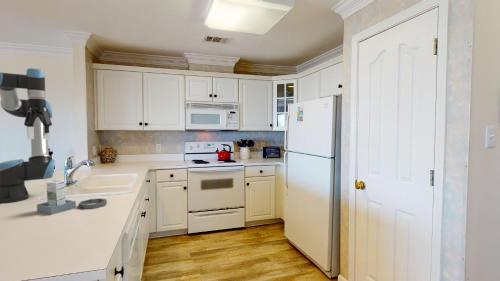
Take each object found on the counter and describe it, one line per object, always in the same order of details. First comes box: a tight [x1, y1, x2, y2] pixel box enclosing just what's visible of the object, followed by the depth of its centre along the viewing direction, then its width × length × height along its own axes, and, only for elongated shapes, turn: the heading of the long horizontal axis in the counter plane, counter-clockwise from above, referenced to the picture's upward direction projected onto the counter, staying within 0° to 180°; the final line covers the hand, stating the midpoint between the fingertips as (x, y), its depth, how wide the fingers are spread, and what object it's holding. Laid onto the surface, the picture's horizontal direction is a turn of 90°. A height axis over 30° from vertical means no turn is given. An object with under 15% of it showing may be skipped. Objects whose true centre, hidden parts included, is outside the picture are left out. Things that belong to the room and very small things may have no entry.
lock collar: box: [78, 197, 108, 210], centre depth 149 cm, size 13×13×2 cm
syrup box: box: [46, 179, 66, 207], centre depth 141 cm, size 6×6×14 cm
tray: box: [36, 198, 77, 216], centre depth 141 cm, size 12×12×4 cm
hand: (38, 139), depth 143 cm, fingers open, 13 cm apart
